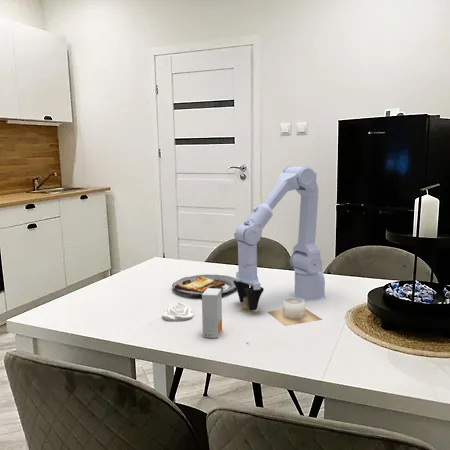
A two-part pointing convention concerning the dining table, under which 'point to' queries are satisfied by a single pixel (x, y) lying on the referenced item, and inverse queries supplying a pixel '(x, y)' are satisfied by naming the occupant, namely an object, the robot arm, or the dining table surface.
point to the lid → (246, 306)
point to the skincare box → (212, 312)
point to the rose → (178, 312)
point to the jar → (294, 308)
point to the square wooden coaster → (279, 316)
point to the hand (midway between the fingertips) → (248, 305)
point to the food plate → (204, 284)
